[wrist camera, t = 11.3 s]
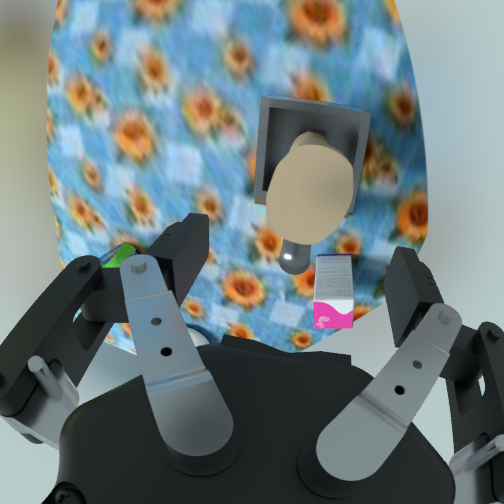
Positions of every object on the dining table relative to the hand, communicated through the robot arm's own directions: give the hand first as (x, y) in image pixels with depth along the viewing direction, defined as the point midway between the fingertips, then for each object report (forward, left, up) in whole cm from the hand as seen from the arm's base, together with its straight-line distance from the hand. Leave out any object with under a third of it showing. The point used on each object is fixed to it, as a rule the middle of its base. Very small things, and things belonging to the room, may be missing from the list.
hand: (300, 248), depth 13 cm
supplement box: (+22, +7, -32) cm, 40 cm away
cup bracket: (+4, 0, -32) cm, 32 cm away
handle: (0, 0, -21) cm, 21 cm away
